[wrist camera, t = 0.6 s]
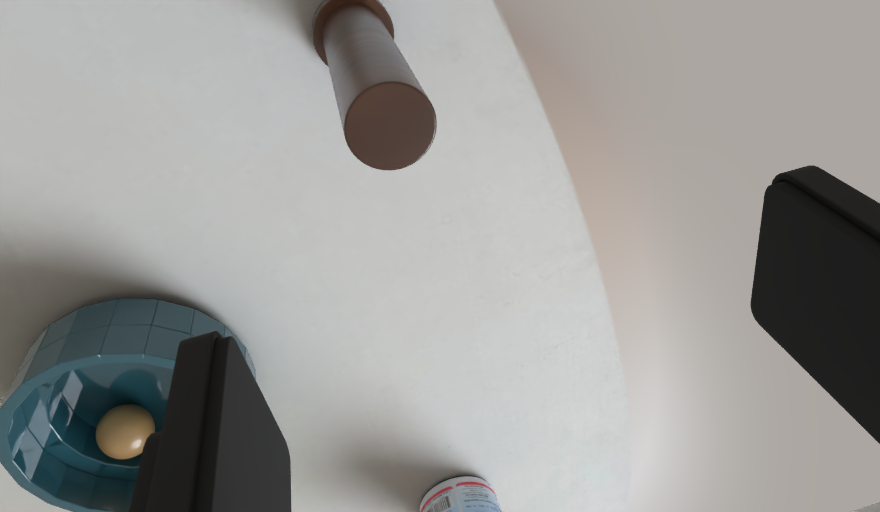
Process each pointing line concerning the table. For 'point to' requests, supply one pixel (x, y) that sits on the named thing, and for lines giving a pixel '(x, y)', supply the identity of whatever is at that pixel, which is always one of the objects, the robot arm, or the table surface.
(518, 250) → the table surface
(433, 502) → the pill bottle
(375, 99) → the brown flanged cylinder
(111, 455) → the bead
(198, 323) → the bowl
